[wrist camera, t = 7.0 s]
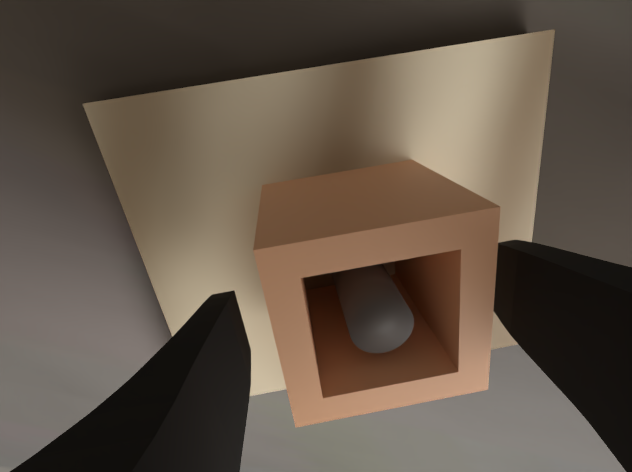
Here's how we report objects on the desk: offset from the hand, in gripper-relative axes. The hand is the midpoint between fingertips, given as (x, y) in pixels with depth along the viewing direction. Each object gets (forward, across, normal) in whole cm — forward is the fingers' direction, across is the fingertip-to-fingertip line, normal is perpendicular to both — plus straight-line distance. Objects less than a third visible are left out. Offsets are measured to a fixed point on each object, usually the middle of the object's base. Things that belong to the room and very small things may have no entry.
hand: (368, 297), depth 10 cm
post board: (+4, 0, 0) cm, 4 cm away
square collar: (+3, 0, 0) cm, 3 cm away
